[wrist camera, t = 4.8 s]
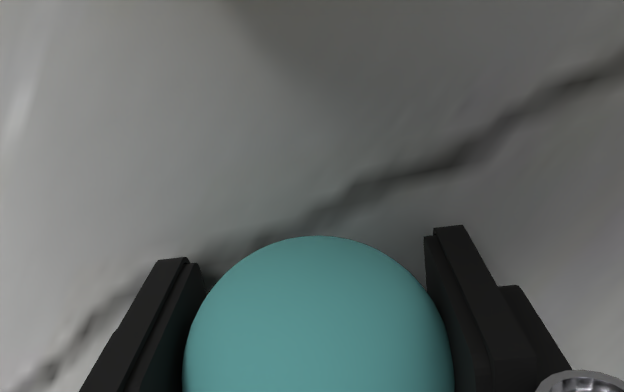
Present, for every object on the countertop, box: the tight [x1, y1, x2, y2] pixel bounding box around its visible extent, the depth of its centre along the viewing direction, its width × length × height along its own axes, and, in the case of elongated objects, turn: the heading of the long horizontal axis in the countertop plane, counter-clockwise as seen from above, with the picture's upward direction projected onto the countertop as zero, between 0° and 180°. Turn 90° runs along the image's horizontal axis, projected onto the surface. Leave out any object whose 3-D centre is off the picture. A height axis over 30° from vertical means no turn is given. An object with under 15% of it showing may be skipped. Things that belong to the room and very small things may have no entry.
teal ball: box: [182, 236, 455, 392], centre depth 9 cm, size 4×4×4 cm
